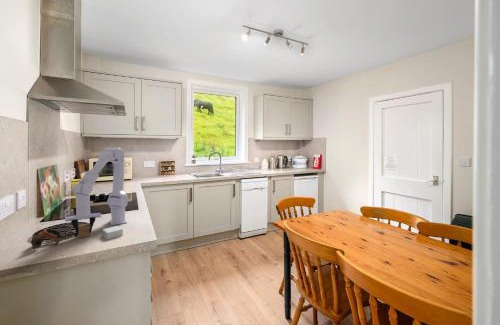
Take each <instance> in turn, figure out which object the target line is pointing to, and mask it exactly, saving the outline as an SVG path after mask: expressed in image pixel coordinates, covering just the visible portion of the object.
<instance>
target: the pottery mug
mask: <svg viewBox="0 0 500 325" xmlns="http://www.w3.org/2000/svg"><path fill="white" fill-rule="evenodd" d="M62 235H63V234H62V233H61V232H60V231H59V230H56V229H53V228H45V229H43V231H41V232H39V233H37V234H36V236H35V237H32V239H31V241H30V244H31V248H32V249H34V250H35V249H36V248H37V249H39V248H41V246H42V244H43V243H44V241H45V238H46V239H49V240H51V239H52V240H55V242H54V245H55V246H58V244H59V243H60V242H61V239H62Z"/></svg>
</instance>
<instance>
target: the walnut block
mask: <svg viewBox="0 0 500 325" xmlns="http://www.w3.org/2000/svg"><path fill="white" fill-rule="evenodd" d="M78 234H79V235H78V239H83V238H90V237H91V233H90V222H89V223H83V224H82V223H81V224H78Z"/></svg>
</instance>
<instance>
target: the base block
mask: <svg viewBox="0 0 500 325" xmlns="http://www.w3.org/2000/svg"><path fill="white" fill-rule="evenodd" d="M123 230H124V229H123V228H122V227H121V226H119V225H115V226H114V225H113V226H110V227H106V228H102V236H103V237H104V238H105V239H107V240H110V239H115V238H117V237H121V236H123V235H124V231H123Z"/></svg>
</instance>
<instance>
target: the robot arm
mask: <svg viewBox="0 0 500 325" xmlns="http://www.w3.org/2000/svg"><path fill="white" fill-rule="evenodd" d="M99 155H100V156H99V158H98V159H97V161H96V162H95V164H94V165H93V167H92V169H89V170H87V171H85V172H84V175H83V176H82V177H81V179H80V180H79V182H77V183H75V184H74V185H73V186H72V188H71V192H72V193H73V195H74V197H75V209H76V210H75V214H76V215H71V216H65V218H64V222H65V223H67V222H70V223H71V225H72V226H73V228H74V230H75V232H76V235H77V236H79V234H78V226H79V221H81V220H87V219H89V223H90V234H91V233H92V230H93V227H94V223H95V222H96V218H102V213H101V212H93V213H92V212H91V198H90V197H91V196H90V194H91V193H92V192H93V187H94V184H95V183H96V181H97V180H98V179H99V177H100V172H101V171H102V170H103V168H104V167H105V166H106V164H108V163H109V162H111V163H112V164H113V175H112V176H113V177H112V179H113V180H112V191H111V192H110V193H109V194H108V198H107V205H108V206H109V208H110V218H111V219H110V220H109V222H110V226H114V225H115V226H117V225H121V224H127V223H128V222H127V219H126V207H127V206H128V203H129V199H128V194H127V193H126V192H125V191H124V186H125V185H124V181H125V165H126V164H125V162H126V161H125V160H126V159H125V151H124V150H123V149H122V148H121V147H104V148H102V151H101V152H100V154H99Z"/></svg>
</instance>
